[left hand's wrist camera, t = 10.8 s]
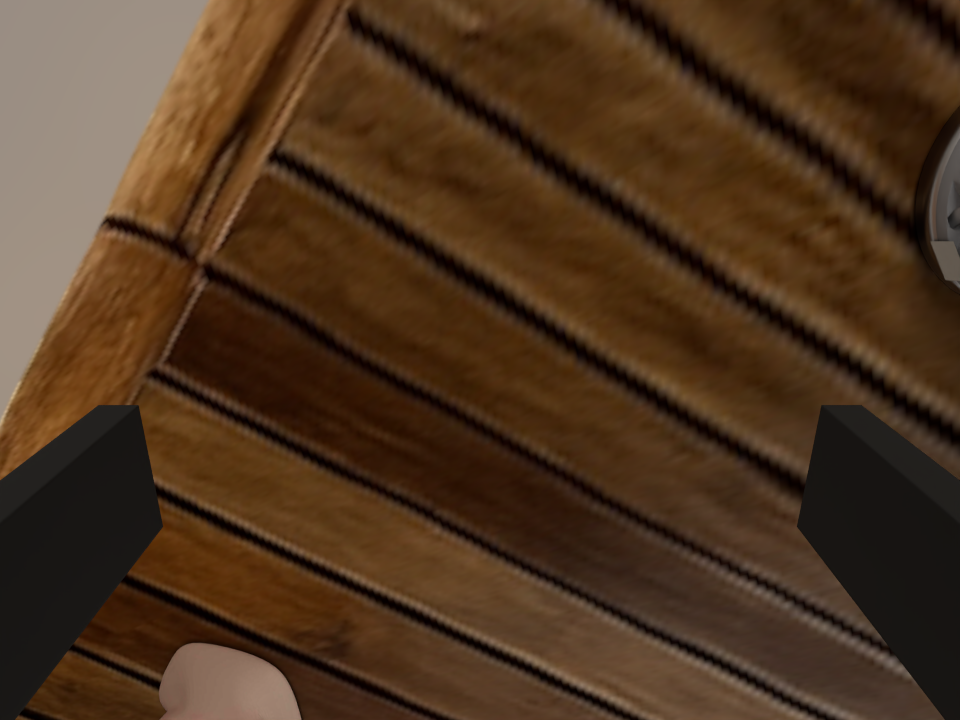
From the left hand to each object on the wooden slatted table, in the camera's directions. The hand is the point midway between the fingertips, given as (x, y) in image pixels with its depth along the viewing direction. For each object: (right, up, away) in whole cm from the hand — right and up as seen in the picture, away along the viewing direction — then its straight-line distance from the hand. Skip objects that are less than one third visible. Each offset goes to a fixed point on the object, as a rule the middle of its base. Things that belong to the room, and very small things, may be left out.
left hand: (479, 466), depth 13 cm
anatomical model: (-20, -26, +41) cm, 53 cm away
